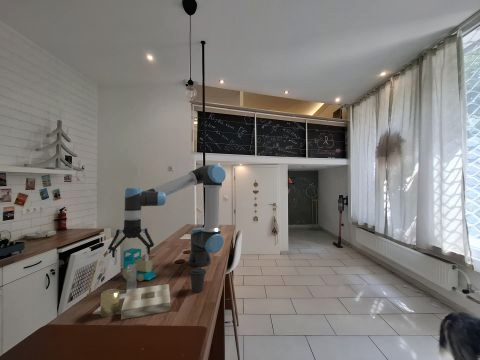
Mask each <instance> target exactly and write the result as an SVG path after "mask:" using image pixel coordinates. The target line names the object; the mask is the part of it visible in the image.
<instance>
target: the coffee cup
mask: <svg viewBox="0 0 480 360" xmlns="http://www.w3.org/2000/svg"><path fill="white" fill-rule="evenodd" d="M206 273H207V271H206V269H204V268H201V267H195V268H193V269H191V270H189V275H190V284H191V292H192V293H194V294H199V293H201V292H203V290H204V286H205V285H204V284H205V275H206Z"/></svg>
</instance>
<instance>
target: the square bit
mask: <svg viewBox="0 0 480 360" xmlns="http://www.w3.org/2000/svg"><path fill="white" fill-rule="evenodd" d="M137 281H138V279H137V264H131V265H128V266H127V279H126V289H125V290H126V293H127V290H129V289H136V288H137ZM126 293H125V294H126Z"/></svg>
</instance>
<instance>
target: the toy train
mask: <svg viewBox="0 0 480 360" xmlns="http://www.w3.org/2000/svg"><path fill="white" fill-rule="evenodd" d="M138 253H139V255H138V256H137V255H136V254H138ZM126 254H129V255H127V256H126ZM135 255H136V256H135ZM143 256H144V259H142V248H133V247H132V248H129V249H126V250H123V254H122V257H123V260H122V267H123V269H122V277H123V278H124V279H125V280H127V266H128V265H131V264H137V282H143V281H144V280H146V281H150V280H151V279H154V278H155V277H156V276H157V274H156V273H155V271H154V270H153V266H154V264H153V261H152V260H151V259H149V258H150V257H149V256H150V254H148V255H147V262H145V259H146V253H144V255H143Z"/></svg>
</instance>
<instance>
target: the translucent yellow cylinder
mask: <svg viewBox="0 0 480 360" xmlns="http://www.w3.org/2000/svg"><path fill="white" fill-rule="evenodd" d="M118 311H119V312H120V289H118V288H111V289H106V290H104V291H102V292H101V293H100V311H99V312H100V313H99V315H100V316H101V317H102V318H109V317H113V316H115V315H117V314H118V313H119V312H118ZM117 312H118V313H117ZM116 313H117V314H116Z"/></svg>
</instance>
